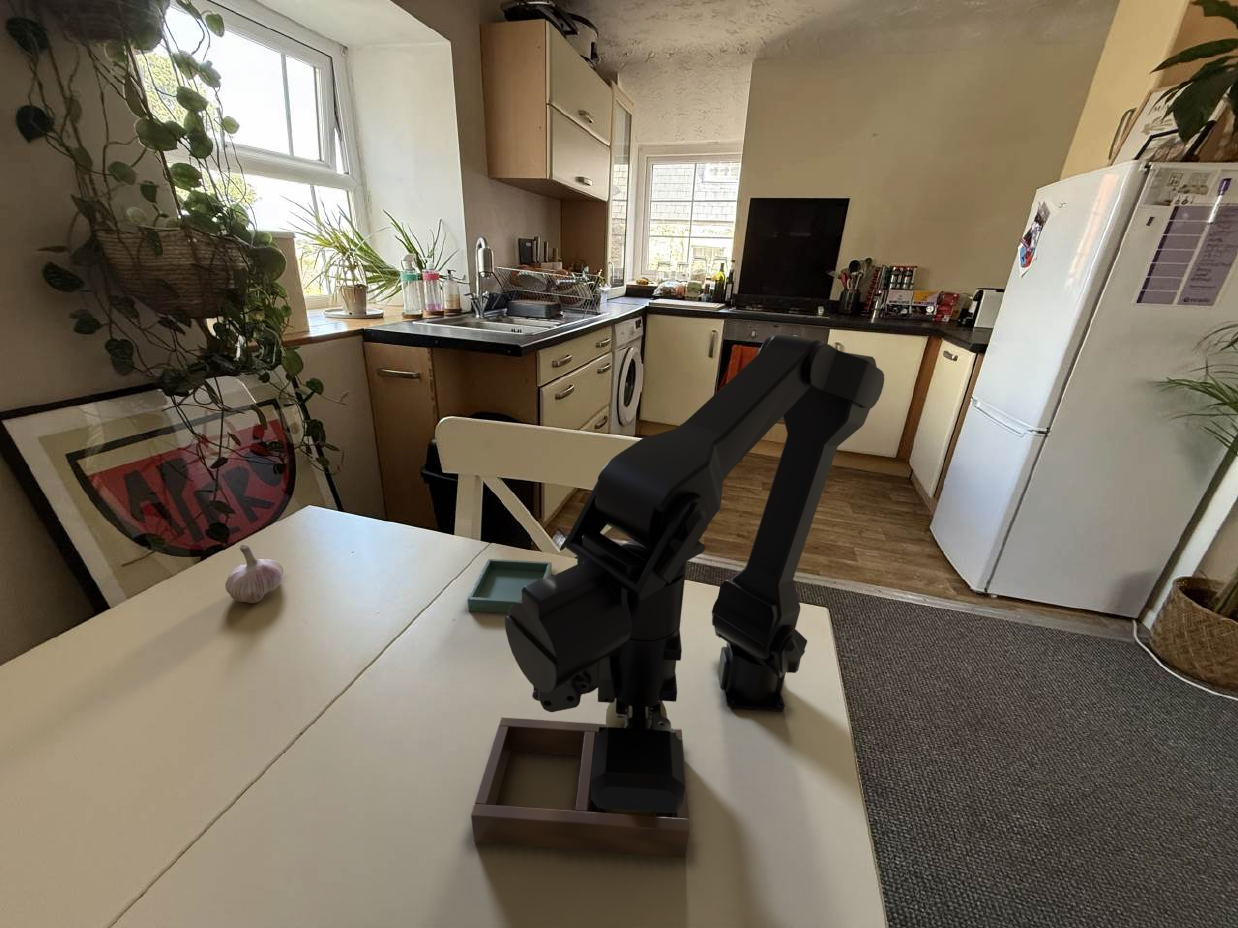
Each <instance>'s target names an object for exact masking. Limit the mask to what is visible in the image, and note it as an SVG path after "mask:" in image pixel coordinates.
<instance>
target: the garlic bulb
mask: <svg viewBox="0 0 1238 928" xmlns="http://www.w3.org/2000/svg"><path fill="white" fill-rule="evenodd" d="M239 550H240V552H241V553H242V554H243V556H244V559H245V562H246V563H245V564H240V565H238V566H237V567H236V568H234V569H233V570H231V572H229V574H228V576H227V579H226V581H225V583H224V584H225V587H224V588H225V590H226V592H227V593H228V594H229V596H230V598H231V599H233V600H234V601H236V602H241V603H242V602H246V603H248V604H255V603H256V604H257V603H259V602H260V601H262V600H263V598H264V597H265V595H266V594H267V593H270V592H272V591H274V590H275V589H277V588H278V587H279V586H280V585H281V582H282V580H283V576H284V572H285V569H284V566H283V565H282V563H281V562H279V561H278V560H274V559H262V558H258V559H257V558H256V557H255V555H254V553H253V552H252V550H251V547H250V546H249V545H248V544H245V543H244V544H240V546H239Z"/></svg>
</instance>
